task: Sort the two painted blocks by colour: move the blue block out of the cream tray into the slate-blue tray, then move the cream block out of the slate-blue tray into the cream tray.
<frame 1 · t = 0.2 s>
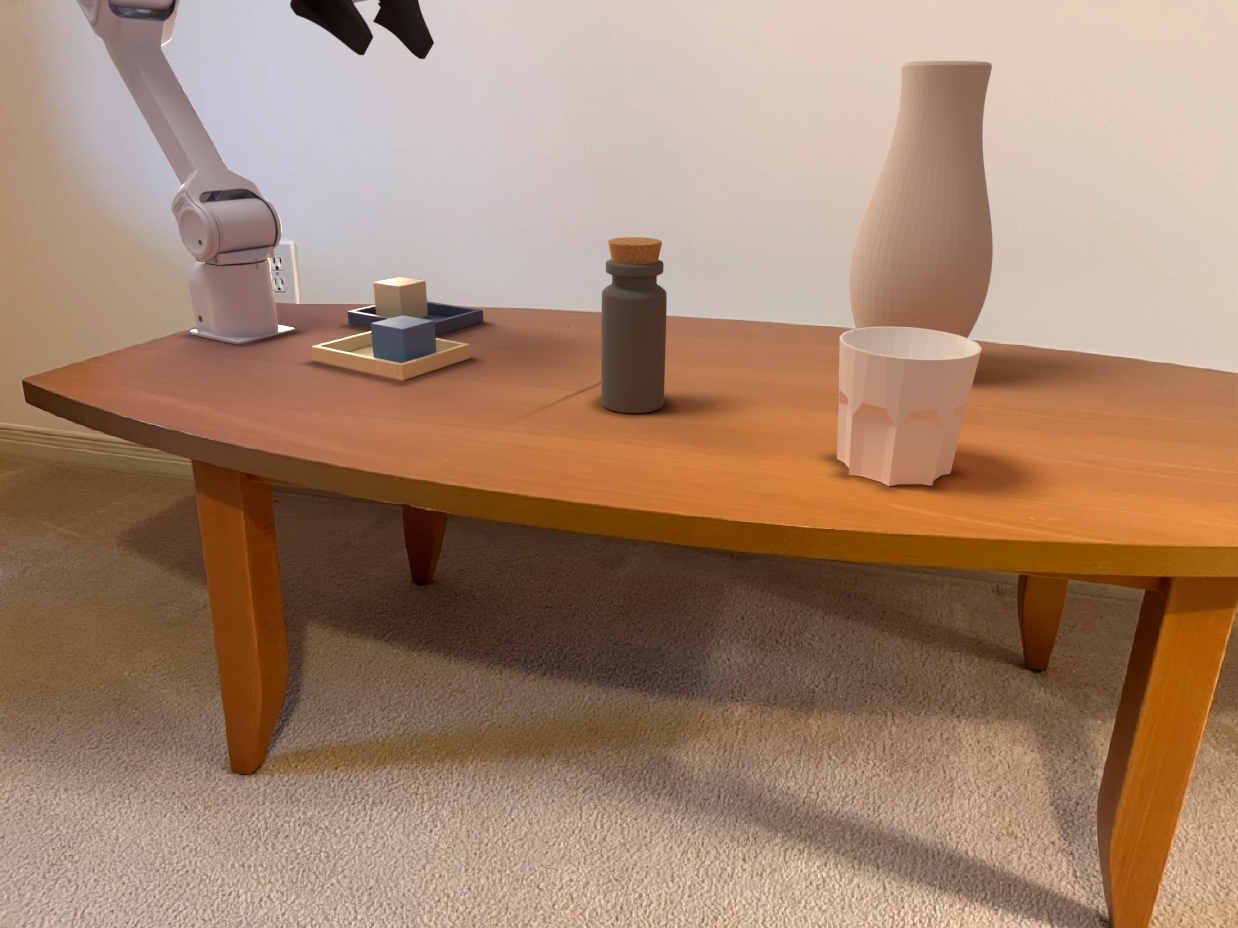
hand: (397, 48, 82), 31 cm above the table, tool tilted 45°, fingers open, 7 cm apart
bottle: (632, 406, 84), on the table
cream tray: (392, 362, 96), on the table
blue block: (406, 365, 94), resting on cream tray
vase: (906, 370, 96), on the table
cup: (892, 468, 70), on the table
blue tray: (416, 325, 112), on the table
cream block: (402, 317, 115), resting on blue tray
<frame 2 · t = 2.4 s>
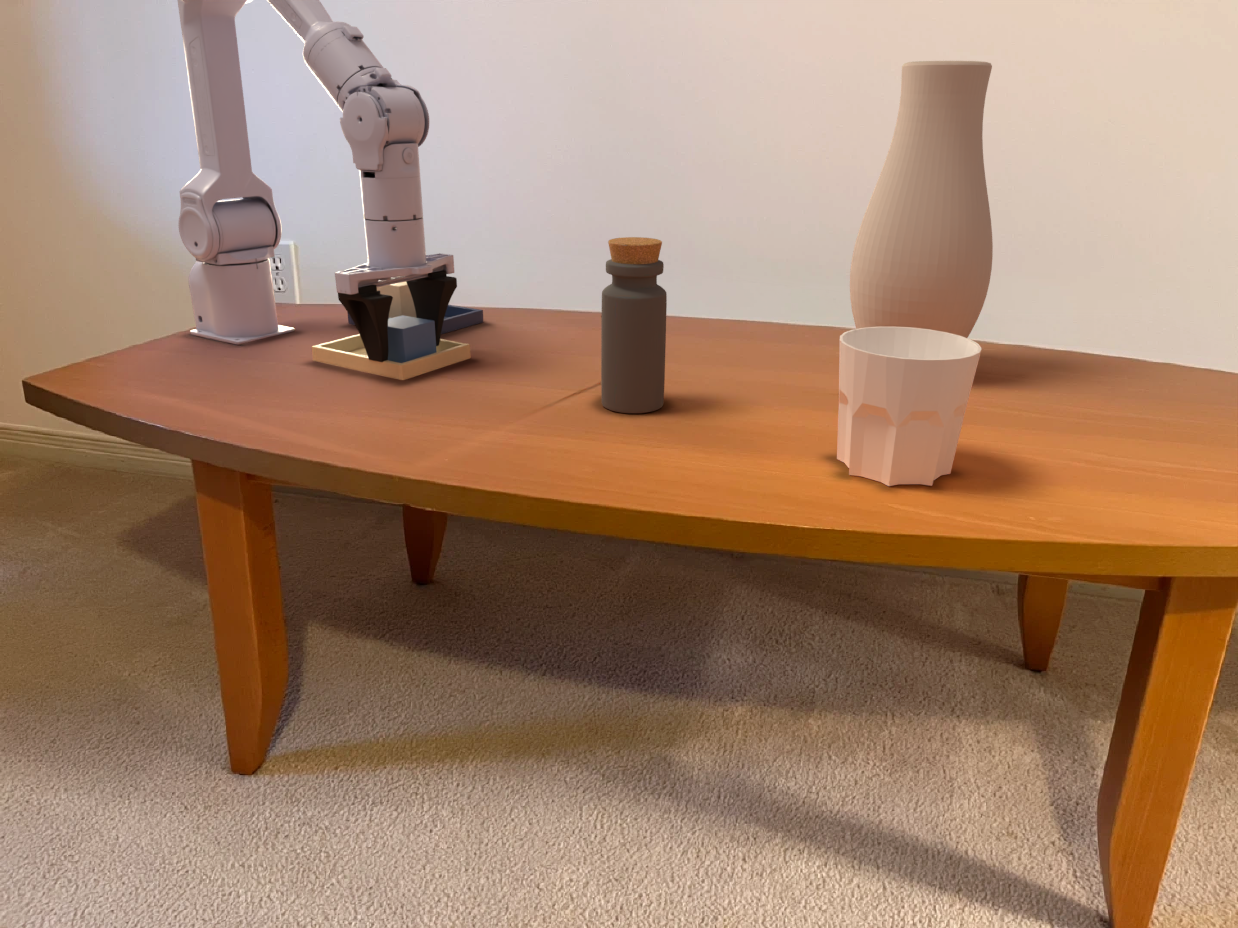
hand: (404, 352, 94), 2 cm above the table, tool pointing down, fingers open, 7 cm apart
nothing on the table moved.
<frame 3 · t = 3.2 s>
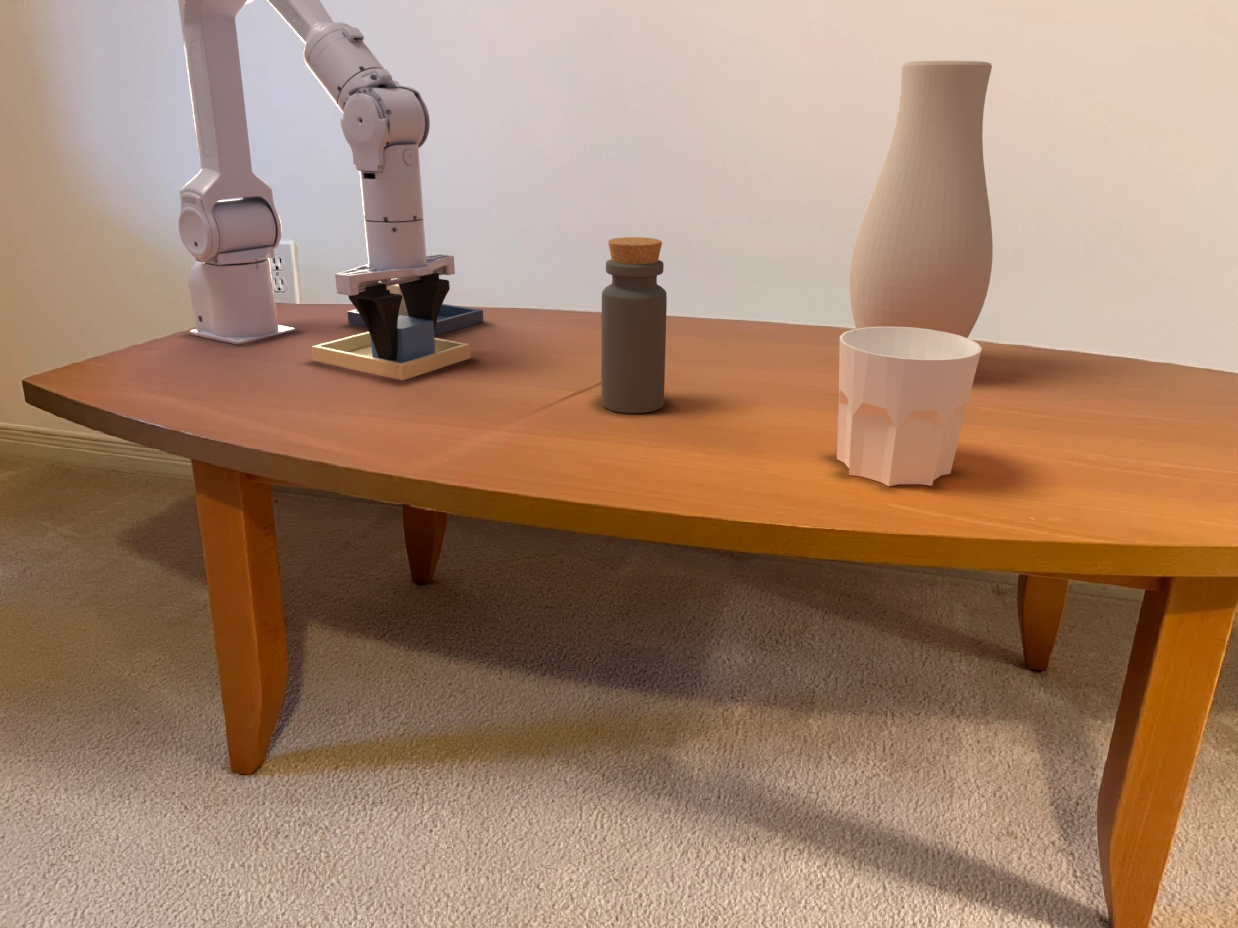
hand: (405, 353, 94), 2 cm above the table, tool pointing down, fingers closed on blue block, 4 cm apart
blue block: (404, 365, 94), resting on cream tray, touching gripper
everything else where it was.
when the fingers open (2 cm above the table, at t = 7.6 s): blue block stays where it is, resting on blue tray.
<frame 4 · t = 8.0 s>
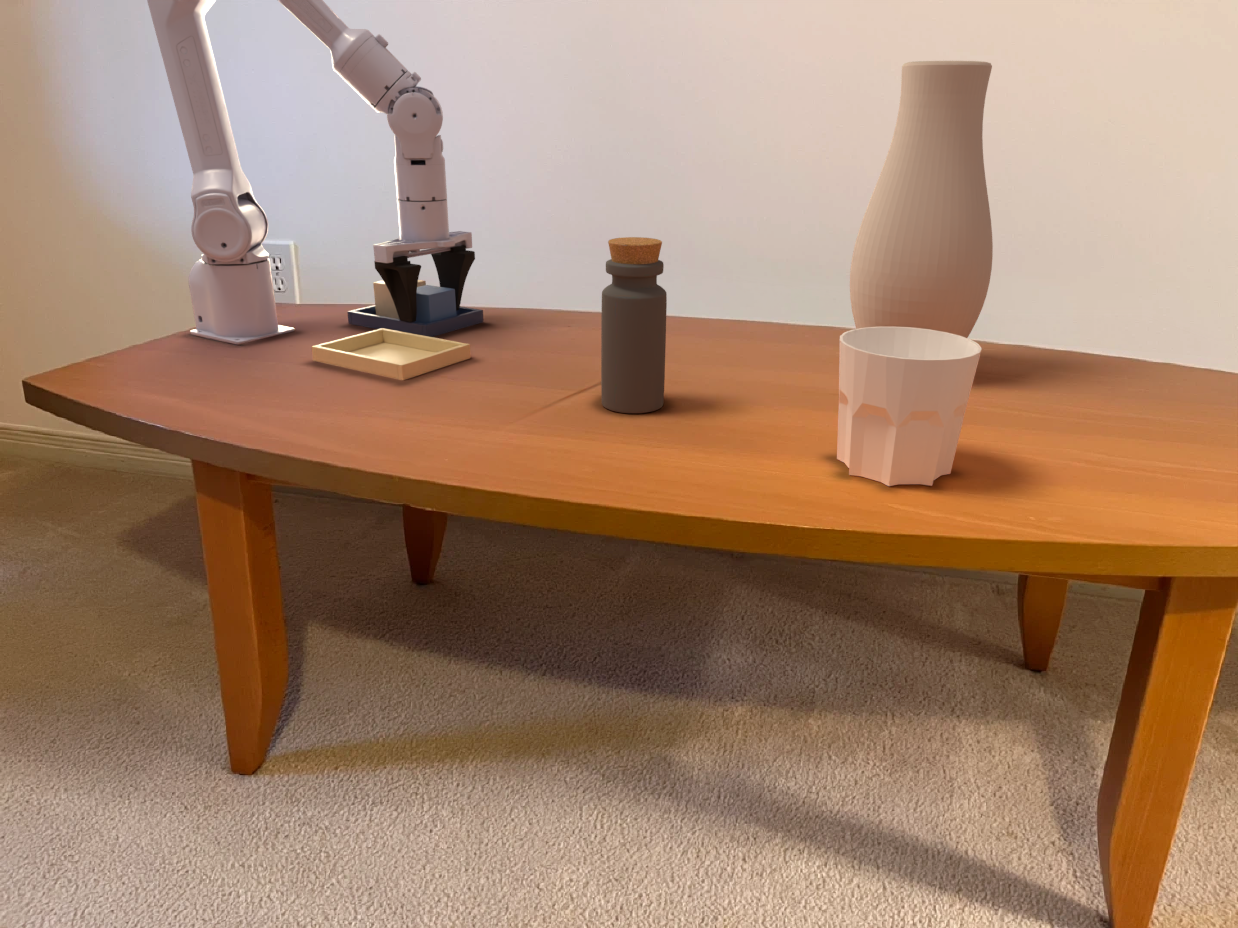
hand: (430, 315, 109), 2 cm above the table, tool pointing down, fingers open, 7 cm apart
blue block: (430, 327, 110), resting on blue tray
everything else where it was.
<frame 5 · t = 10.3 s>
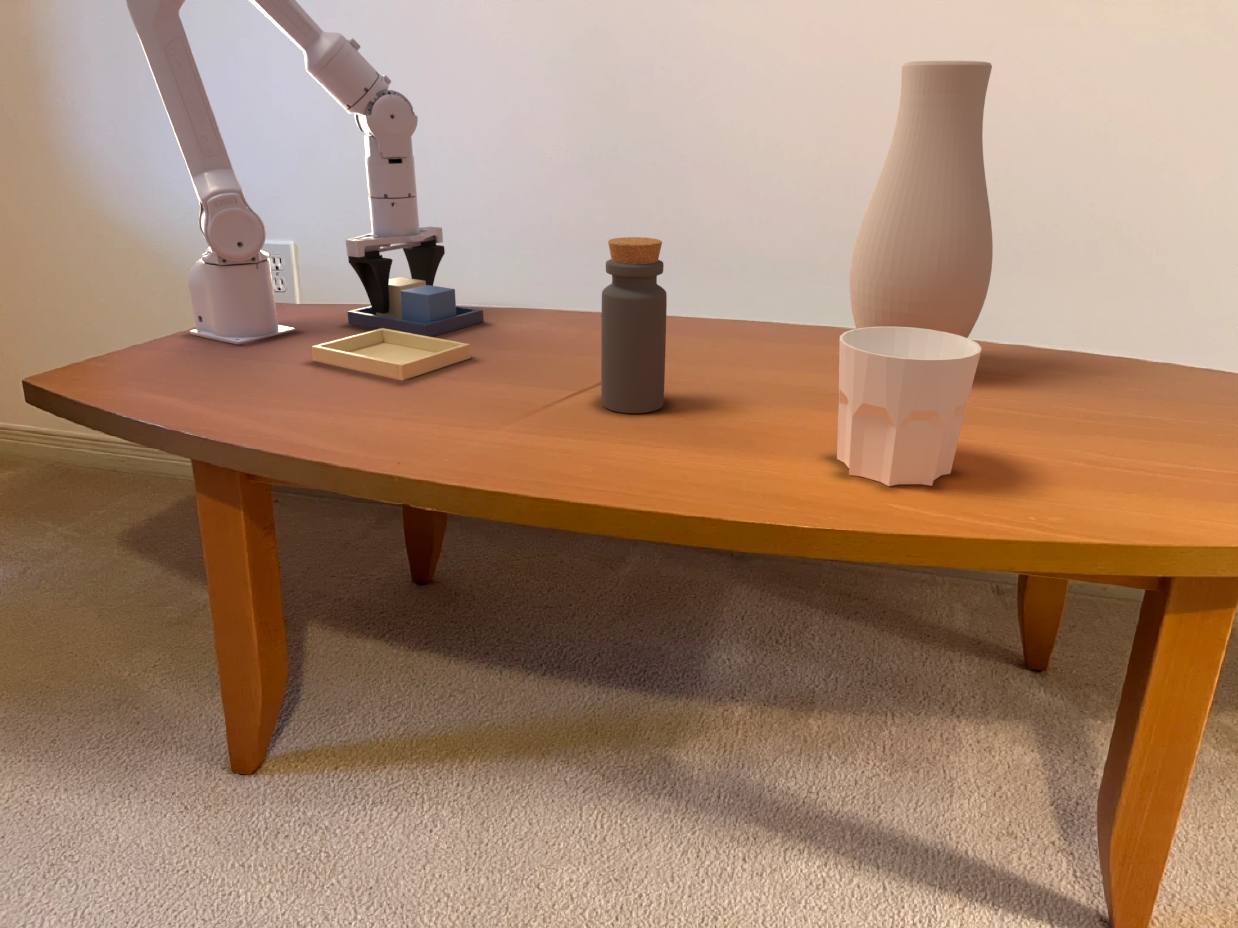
hand: (402, 307, 114), 2 cm above the table, tool pointing down, fingers open, 7 cm apart
nothing on the table moved.
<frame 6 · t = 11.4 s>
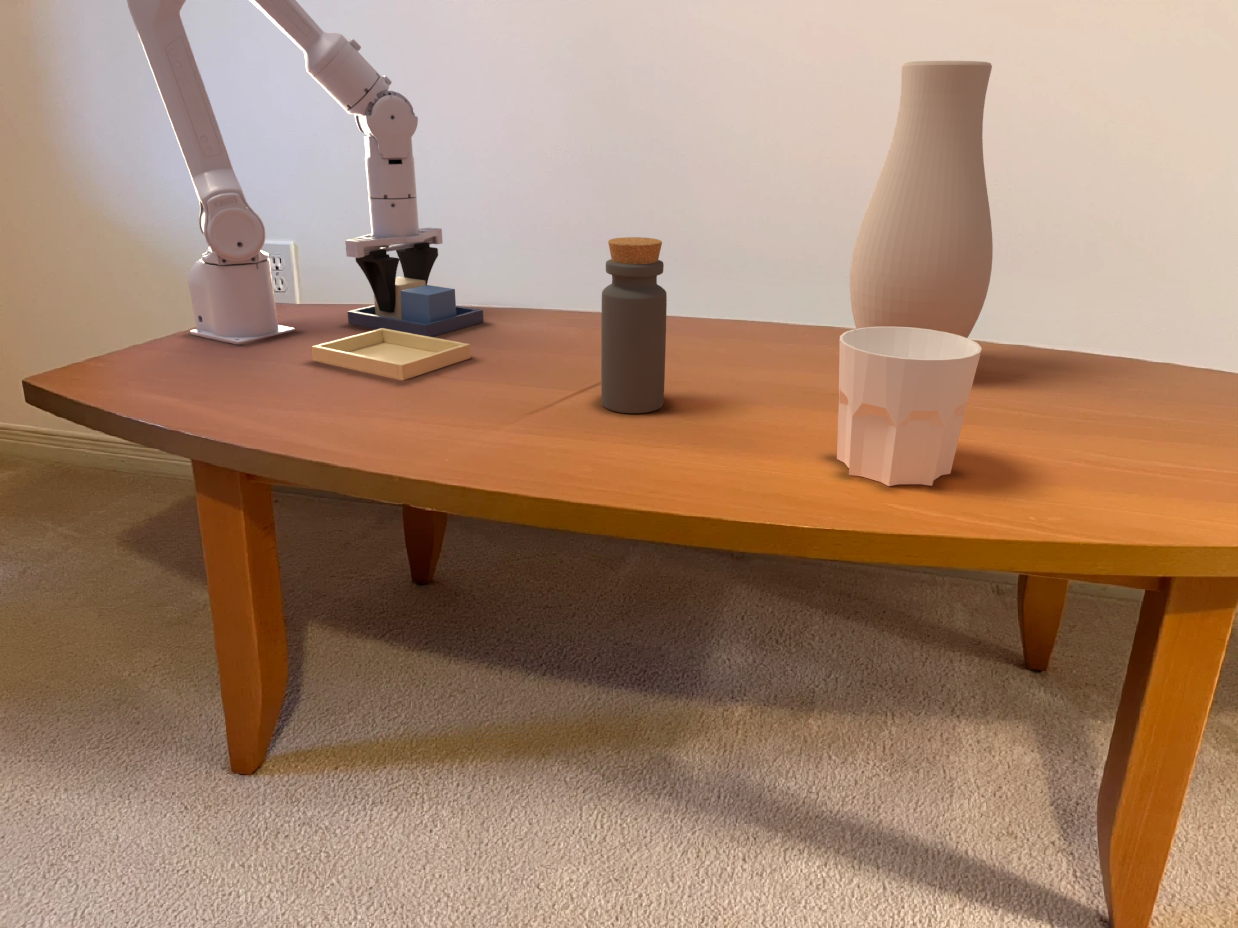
hand: (401, 307, 114), 2 cm above the table, tool pointing down, fingers closed on cream block, 4 cm apart
cream block: (401, 316, 115), resting on blue tray, touching gripper
everything else where it was.
when the fingers open (2 cm above the table, at t = 15.8 s): cream block stays where it is, resting on cream tray.
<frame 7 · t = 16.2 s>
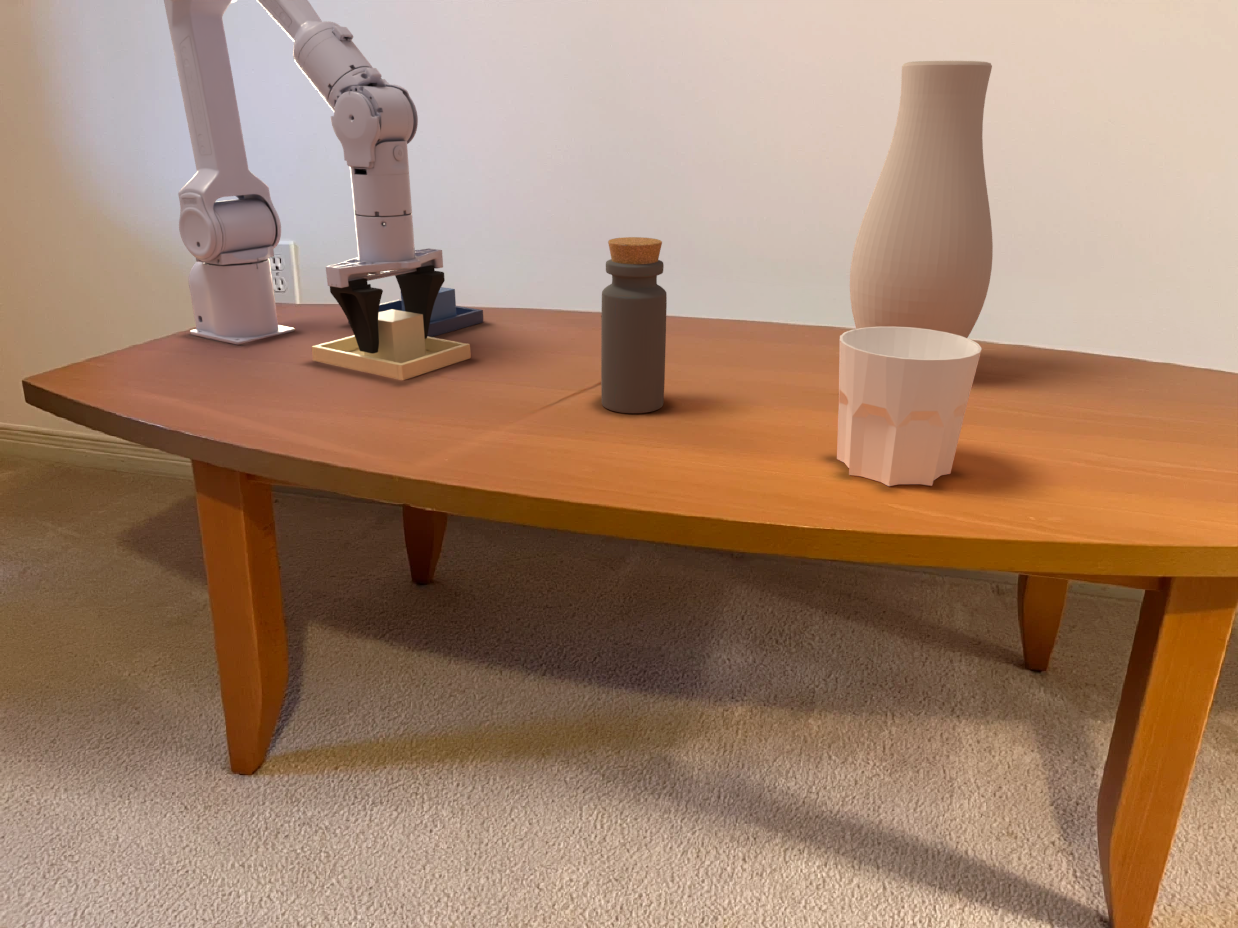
hand: (394, 344, 96), 2 cm above the table, tool pointing down, fingers open, 7 cm apart
cream block: (395, 357, 97), resting on cream tray
everything else where it was.
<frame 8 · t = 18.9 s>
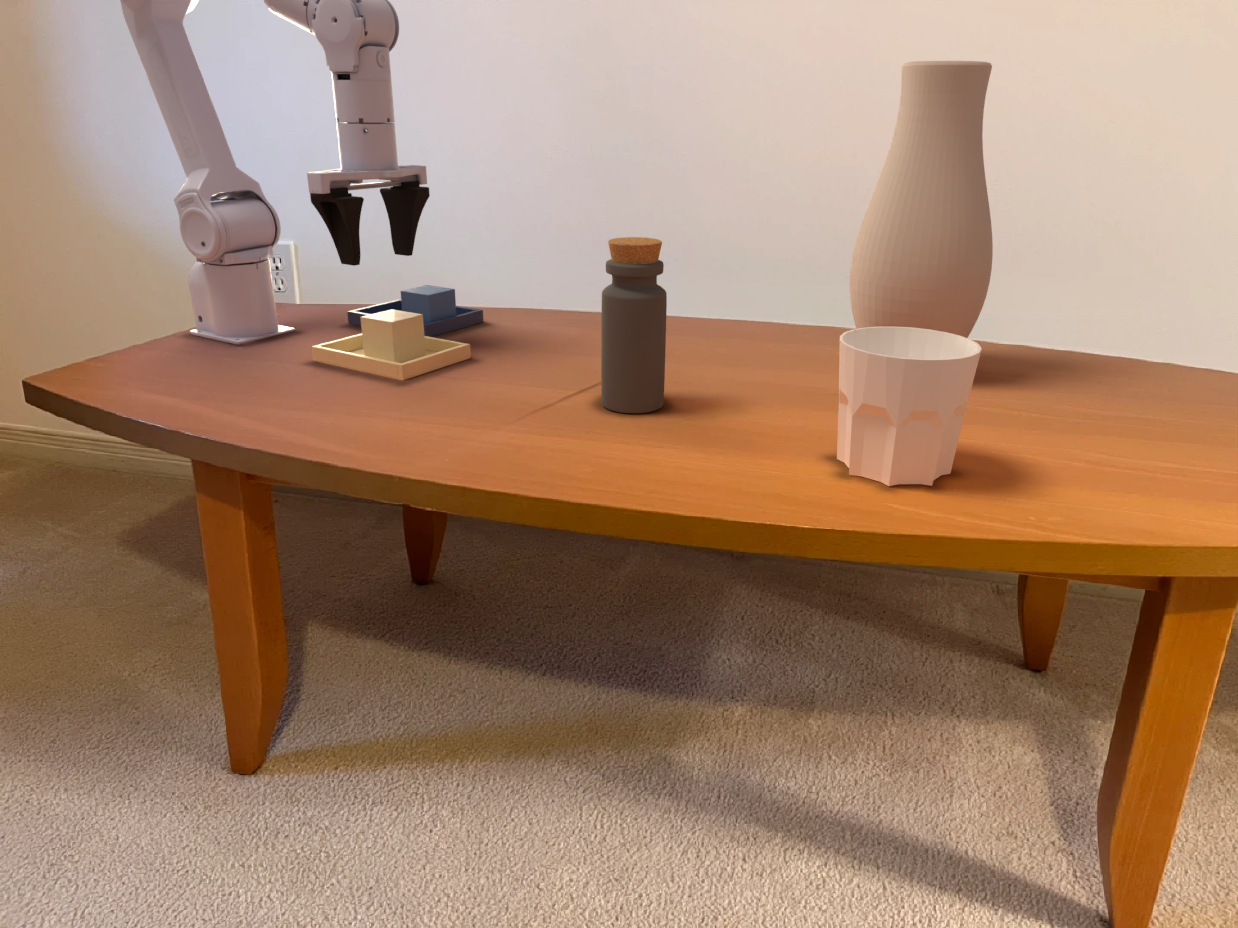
hand: (377, 259, 96), 10 cm above the table, tool pointing down, fingers open, 7 cm apart
nothing on the table moved.
at the end: blue block inside the target area in the blue tray (3.4 cm from its centre), point 0.4 cm above the blue tray's base; cream block inside the target area in the cream tray (0.5 cm from its centre), point 0.4 cm above the cream tray's base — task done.
